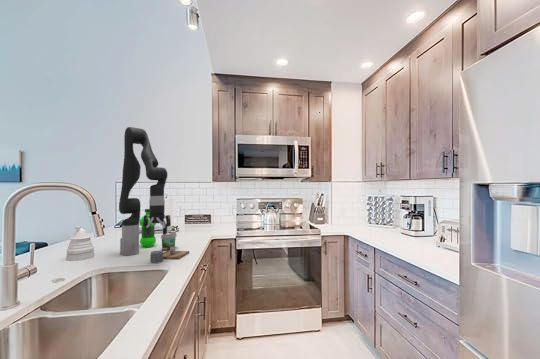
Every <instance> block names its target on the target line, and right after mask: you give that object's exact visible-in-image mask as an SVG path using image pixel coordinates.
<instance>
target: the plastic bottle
mask: <svg viewBox="0 0 540 359" xmlns="http://www.w3.org/2000/svg"><path fill="white" fill-rule="evenodd" d="M144 213H145V215H150V213H149V208H146V209H144ZM143 221H144V215H143V216H142V217H140V220H139V227H140V226H141V238H140V239H139V245H140V246H142V247H143V248H151V247H154V245H155V244H156V243H157V239H156V236H155V226H156V225H157V223H153V224H152V226H151V234H150V235H148V234H147V227H144V226H143ZM149 221H150V218H149V219H148V223H149Z"/></svg>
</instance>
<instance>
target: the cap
mask: <svg viewBox="0 0 540 359" xmlns="http://www.w3.org/2000/svg"><path fill="white" fill-rule="evenodd" d="M163 252H164V251H162V250H153V251H151V252H150V259H149V260H150V261H149V262H150V263H151V264H160V263H163V262H164V259H163Z"/></svg>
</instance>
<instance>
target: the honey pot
mask: <svg viewBox="0 0 540 359" xmlns="http://www.w3.org/2000/svg"><path fill="white" fill-rule="evenodd" d="M74 228H75V232H74V233H73V236H71V237H70V238H69V240H70V242H69V244H68V245H67V249H66V258H65V259H66V261H67V262H71V261H72V262H76V261H84V260H89V259H92V258H94V257H95V246H94V244H93V241H92V239H91V238H92V235H89V233H88V232H87V231H86V230H85V229H84V228H81V225H77V226H74Z"/></svg>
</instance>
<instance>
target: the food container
mask: <svg viewBox="0 0 540 359" xmlns="http://www.w3.org/2000/svg"><path fill="white" fill-rule="evenodd" d="M177 236H178V234H177V233H176V231H175V232H174V231H171V233H166V235H163V234H161V236H160V239H161V251H163V252H165V251H170V248H171V247H175V248H176V238H177Z"/></svg>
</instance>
